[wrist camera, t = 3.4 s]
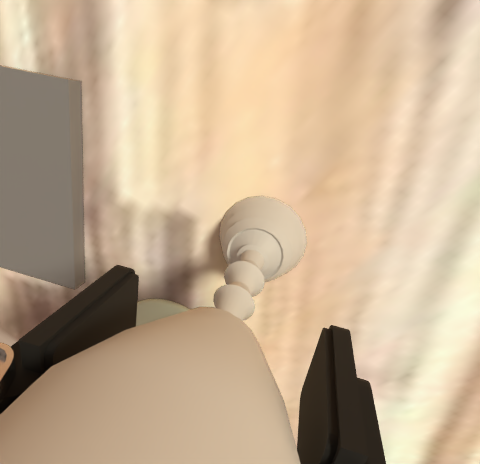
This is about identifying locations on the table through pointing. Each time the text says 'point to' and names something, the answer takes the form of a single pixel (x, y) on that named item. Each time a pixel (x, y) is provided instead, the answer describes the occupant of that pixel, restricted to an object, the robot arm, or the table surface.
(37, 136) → the slate board
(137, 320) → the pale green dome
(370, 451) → the robot arm
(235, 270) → the chalice
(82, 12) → the table surface
